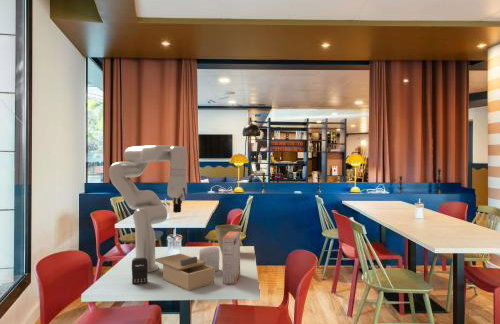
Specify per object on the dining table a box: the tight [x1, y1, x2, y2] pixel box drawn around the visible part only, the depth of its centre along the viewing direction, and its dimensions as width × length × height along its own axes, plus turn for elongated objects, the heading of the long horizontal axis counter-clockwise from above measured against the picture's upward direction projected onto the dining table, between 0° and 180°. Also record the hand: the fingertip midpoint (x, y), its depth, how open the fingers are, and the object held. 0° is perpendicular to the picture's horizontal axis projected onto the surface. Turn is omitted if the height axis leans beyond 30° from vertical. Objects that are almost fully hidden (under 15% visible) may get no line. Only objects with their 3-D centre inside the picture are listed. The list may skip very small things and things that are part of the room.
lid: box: [154, 253, 206, 270], centre depth 171 cm, size 21×15×3 cm
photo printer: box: [198, 245, 220, 272], centre depth 181 cm, size 10×4×12 cm, turn 123°
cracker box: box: [221, 231, 241, 285], centre depth 169 cm, size 14×6×21 cm, turn 171°
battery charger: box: [131, 256, 149, 285], centre depth 164 cm, size 7×4×11 cm, turn 103°
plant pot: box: [214, 224, 242, 253], centre depth 214 cm, size 15×15×16 cm
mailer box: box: [162, 264, 215, 292], centre depth 166 cm, size 20×14×7 cm
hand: (177, 212), depth 171 cm, fingers closed
